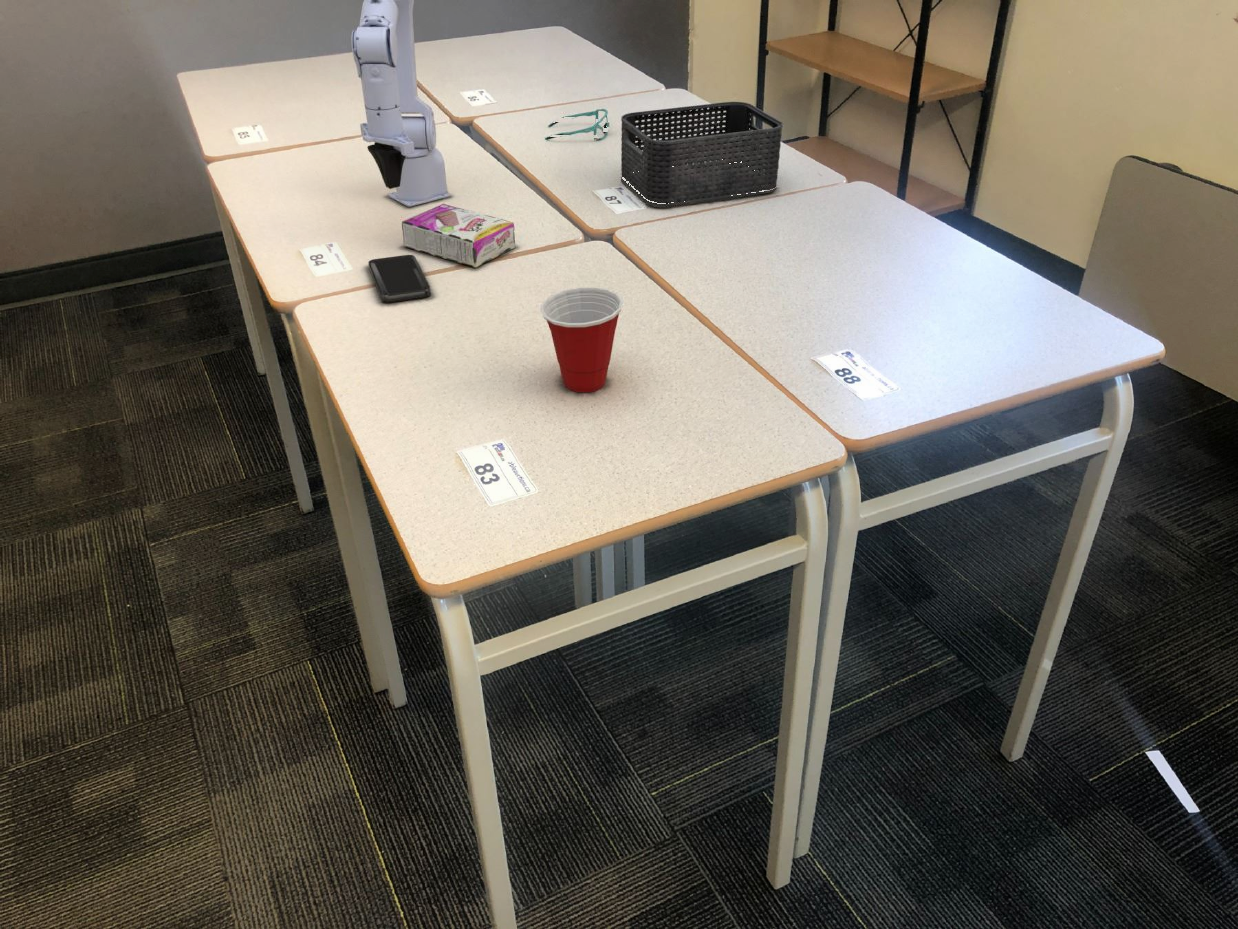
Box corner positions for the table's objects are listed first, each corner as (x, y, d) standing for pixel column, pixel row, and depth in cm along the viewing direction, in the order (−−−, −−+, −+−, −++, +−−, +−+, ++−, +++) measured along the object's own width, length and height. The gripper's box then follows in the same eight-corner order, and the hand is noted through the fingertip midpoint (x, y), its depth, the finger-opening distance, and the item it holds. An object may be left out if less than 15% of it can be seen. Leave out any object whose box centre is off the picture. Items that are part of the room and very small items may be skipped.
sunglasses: (609, 143, 216) (607, 120, 213) (544, 148, 217) (541, 126, 214) (611, 125, 227) (609, 103, 224) (549, 130, 228) (546, 109, 225)
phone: (381, 297, 148) (367, 259, 159) (382, 303, 148) (368, 266, 160) (432, 289, 150) (414, 253, 161) (432, 296, 151) (415, 259, 162)
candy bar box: (442, 201, 171) (515, 221, 164) (444, 227, 174) (516, 248, 167) (399, 220, 163) (474, 241, 156) (402, 247, 166) (476, 269, 159)
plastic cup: (542, 363, 134) (538, 285, 127) (618, 361, 135) (619, 283, 128) (543, 404, 125) (540, 322, 118) (625, 401, 126) (626, 320, 119)
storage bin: (651, 210, 182) (653, 140, 174) (615, 178, 197) (615, 112, 189) (782, 193, 191) (790, 125, 183) (738, 164, 205) (744, 99, 197)
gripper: (339, 100, 159) (351, 180, 167) (382, 119, 150) (393, 203, 158) (377, 93, 162) (387, 171, 170) (421, 111, 154) (430, 194, 162)
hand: (393, 186), depth 164 cm, fingers closed
